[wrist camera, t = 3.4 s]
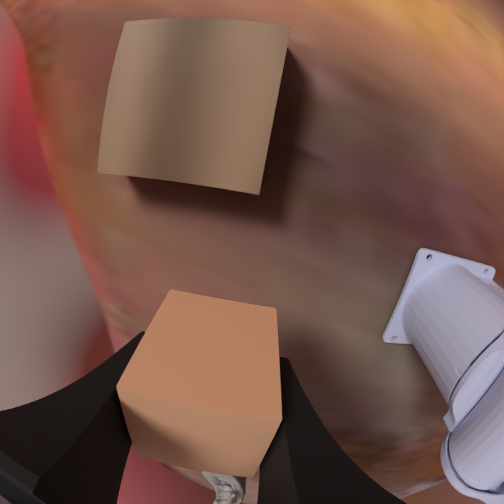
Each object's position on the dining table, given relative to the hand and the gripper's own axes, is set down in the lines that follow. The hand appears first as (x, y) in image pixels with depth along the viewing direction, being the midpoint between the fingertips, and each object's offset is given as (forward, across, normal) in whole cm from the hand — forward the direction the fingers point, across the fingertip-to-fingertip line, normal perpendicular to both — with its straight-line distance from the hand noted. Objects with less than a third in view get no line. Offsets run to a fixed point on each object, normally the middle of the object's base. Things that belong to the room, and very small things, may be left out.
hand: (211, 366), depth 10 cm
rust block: (+2, 0, 0) cm, 2 cm away
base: (+9, +4, -10) cm, 14 cm away
